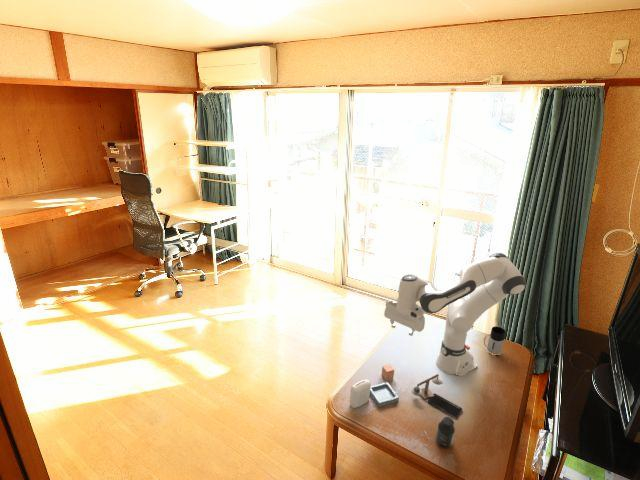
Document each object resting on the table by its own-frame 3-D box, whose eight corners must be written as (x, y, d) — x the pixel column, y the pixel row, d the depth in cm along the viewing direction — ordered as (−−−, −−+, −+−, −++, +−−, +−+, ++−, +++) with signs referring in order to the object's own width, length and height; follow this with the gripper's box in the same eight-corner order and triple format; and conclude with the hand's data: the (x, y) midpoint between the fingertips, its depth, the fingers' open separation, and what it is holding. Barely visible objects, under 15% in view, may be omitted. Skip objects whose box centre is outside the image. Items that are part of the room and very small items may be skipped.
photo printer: (364, 395, 184) (366, 375, 179) (370, 401, 180) (372, 381, 176) (348, 404, 178) (349, 383, 174) (353, 410, 175) (355, 389, 170)
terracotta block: (388, 373, 199) (389, 364, 197) (393, 379, 195) (394, 369, 193) (381, 375, 198) (382, 366, 195) (385, 380, 194) (386, 371, 192)
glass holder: (504, 354, 217) (510, 332, 212) (486, 359, 212) (491, 338, 207) (493, 345, 225) (498, 324, 219) (475, 350, 220) (480, 329, 214)
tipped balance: (435, 386, 191) (438, 369, 187) (442, 394, 186) (446, 377, 182) (408, 394, 186) (410, 376, 181) (415, 402, 180) (417, 385, 176)
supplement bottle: (455, 446, 158) (460, 425, 154) (442, 450, 156) (446, 429, 152) (444, 433, 164) (449, 412, 160) (432, 437, 162) (436, 417, 158)
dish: (386, 385, 190) (387, 381, 190) (398, 401, 181) (398, 397, 180) (367, 390, 187) (368, 386, 186) (378, 407, 177) (379, 403, 176)
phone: (433, 392, 186) (463, 408, 177) (433, 394, 186) (462, 410, 177) (426, 401, 180) (456, 418, 171) (426, 403, 181) (456, 420, 172)
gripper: (383, 301, 181) (380, 325, 186) (422, 317, 169) (418, 342, 174) (389, 296, 186) (386, 320, 191) (428, 312, 174) (423, 336, 179)
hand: (401, 331), depth 182 cm, fingers open, 8 cm apart
